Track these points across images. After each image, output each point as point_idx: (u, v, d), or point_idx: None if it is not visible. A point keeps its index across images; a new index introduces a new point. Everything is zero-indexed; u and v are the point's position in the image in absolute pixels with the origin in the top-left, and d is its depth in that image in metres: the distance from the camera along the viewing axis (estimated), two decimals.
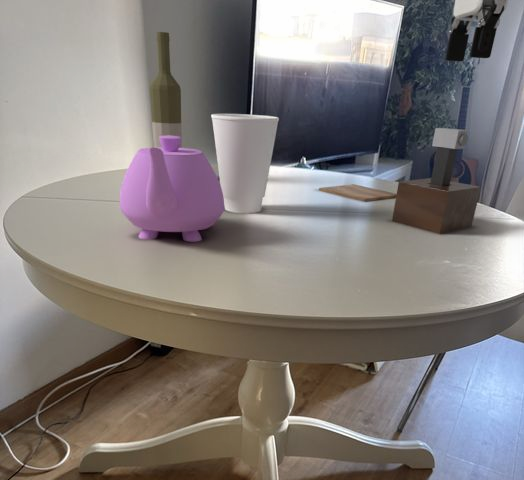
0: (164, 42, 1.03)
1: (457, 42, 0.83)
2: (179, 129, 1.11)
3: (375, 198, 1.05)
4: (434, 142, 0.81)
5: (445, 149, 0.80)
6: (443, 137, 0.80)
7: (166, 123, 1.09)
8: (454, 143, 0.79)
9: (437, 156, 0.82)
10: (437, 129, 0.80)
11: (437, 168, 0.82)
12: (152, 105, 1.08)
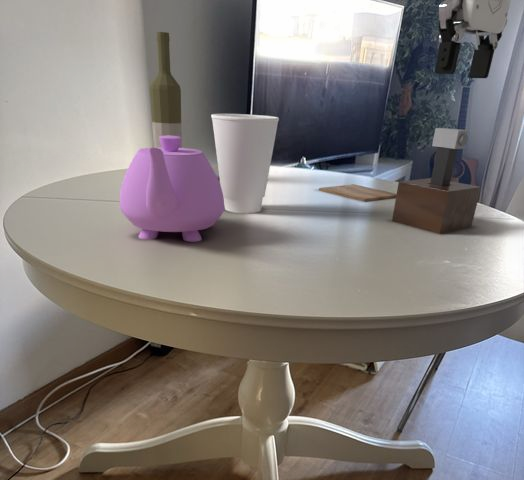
0: (164, 42, 1.03)
1: (479, 58, 0.77)
2: (179, 129, 1.11)
3: (375, 198, 1.05)
4: (434, 142, 0.81)
5: (445, 149, 0.80)
6: (443, 137, 0.80)
7: (166, 123, 1.09)
8: (454, 143, 0.79)
9: (437, 156, 0.82)
10: (437, 129, 0.80)
11: (437, 168, 0.82)
12: (152, 105, 1.08)
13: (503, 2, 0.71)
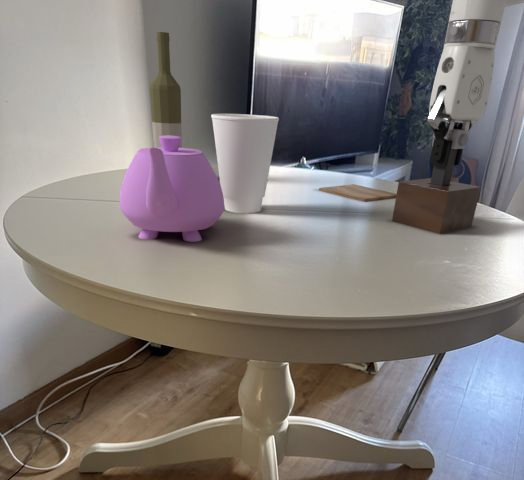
0: (164, 42, 1.03)
1: None
2: (179, 129, 1.11)
3: (375, 198, 1.05)
4: None
5: None
6: None
7: (166, 123, 1.09)
8: (454, 143, 0.79)
9: None
10: None
11: (437, 168, 0.82)
12: (152, 105, 1.08)
13: (482, 93, 0.77)
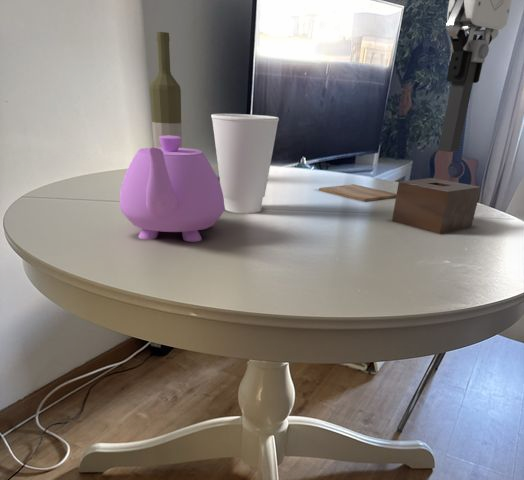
0: (164, 42, 1.03)
1: None
2: (179, 129, 1.11)
3: (375, 198, 1.05)
4: None
5: None
6: None
7: (166, 123, 1.09)
8: (473, 55, 0.73)
9: None
10: None
11: (455, 86, 0.77)
12: (152, 105, 1.08)
13: None
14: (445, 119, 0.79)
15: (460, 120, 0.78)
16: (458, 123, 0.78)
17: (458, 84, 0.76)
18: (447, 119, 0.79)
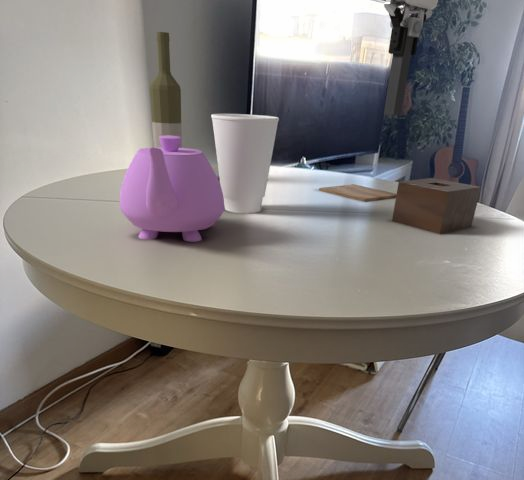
0: (164, 42, 1.03)
1: None
2: (179, 129, 1.11)
3: (375, 198, 1.05)
4: None
5: None
6: None
7: (166, 123, 1.09)
8: (409, 30, 0.86)
9: None
10: None
11: (395, 57, 0.90)
12: (152, 105, 1.08)
13: None
14: (388, 86, 0.93)
15: (401, 87, 0.92)
16: (399, 90, 0.92)
17: (398, 56, 0.90)
18: (390, 86, 0.92)
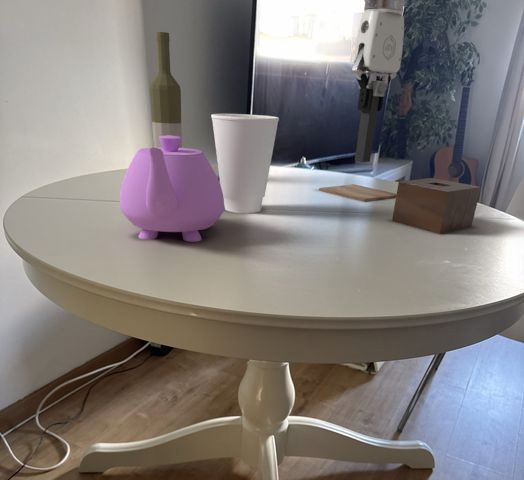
0: (164, 42, 1.03)
1: None
2: (179, 129, 1.11)
3: (375, 198, 1.05)
4: None
5: None
6: None
7: (166, 123, 1.09)
8: (374, 91, 0.99)
9: None
10: None
11: (364, 113, 1.02)
12: (152, 105, 1.08)
13: (395, 51, 0.97)
14: (358, 137, 1.05)
15: (369, 138, 1.04)
16: (367, 141, 1.04)
17: (365, 112, 1.02)
18: (359, 137, 1.05)
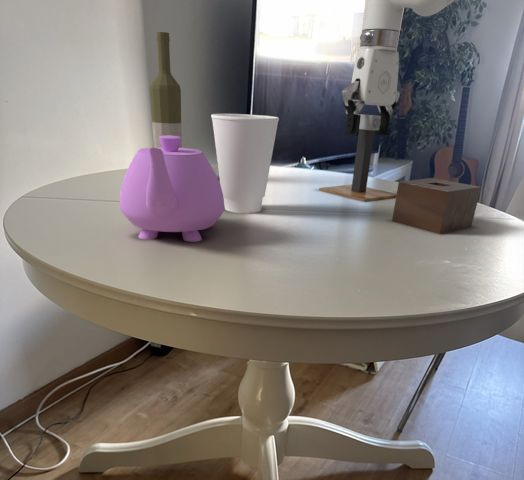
0: (164, 42, 1.03)
1: None
2: (179, 129, 1.11)
3: (375, 198, 1.05)
4: None
5: (364, 130, 1.04)
6: (362, 121, 1.03)
7: (166, 123, 1.09)
8: (369, 125, 1.02)
9: (359, 136, 1.05)
10: None
11: (359, 146, 1.06)
12: (152, 105, 1.08)
13: (391, 85, 1.00)
14: (354, 168, 1.08)
15: (365, 169, 1.07)
16: (363, 172, 1.07)
17: (361, 145, 1.05)
18: (356, 168, 1.08)
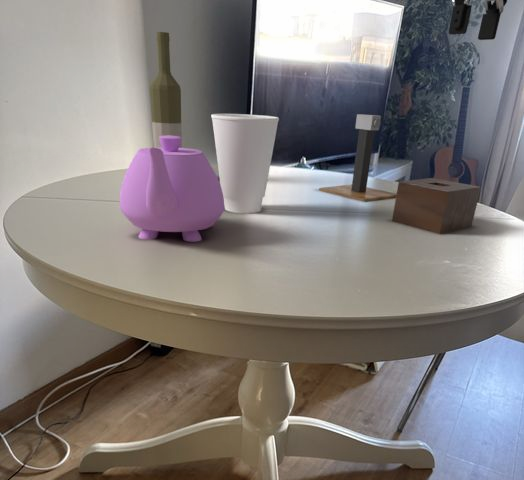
0: (164, 42, 1.03)
1: (487, 21, 0.88)
2: (179, 129, 1.11)
3: (375, 198, 1.05)
4: (356, 125, 1.05)
5: (364, 130, 1.04)
6: (362, 121, 1.03)
7: (166, 123, 1.09)
8: (369, 125, 1.02)
9: (359, 136, 1.05)
10: (358, 115, 1.04)
11: (359, 146, 1.06)
12: (152, 105, 1.08)
13: None
14: (354, 168, 1.08)
15: (365, 169, 1.07)
16: (363, 172, 1.07)
17: (361, 145, 1.05)
18: (356, 168, 1.08)
